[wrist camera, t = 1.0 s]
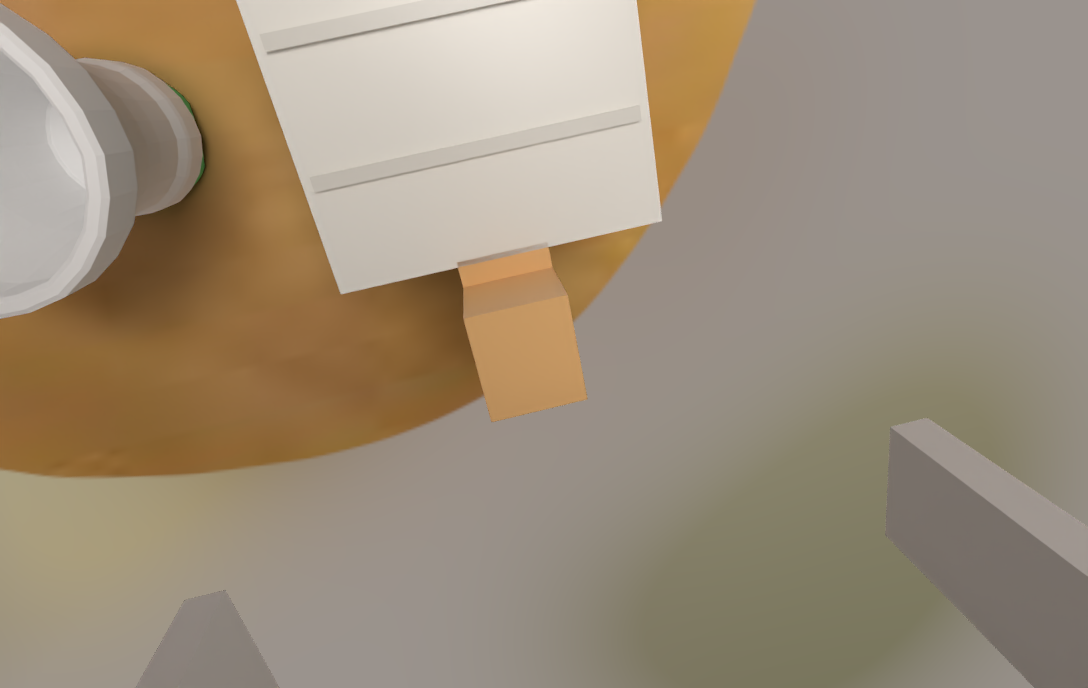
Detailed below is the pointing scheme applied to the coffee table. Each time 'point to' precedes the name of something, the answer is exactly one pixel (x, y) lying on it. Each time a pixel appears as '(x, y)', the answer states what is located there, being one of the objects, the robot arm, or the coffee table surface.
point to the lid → (467, 156)
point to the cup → (80, 162)
